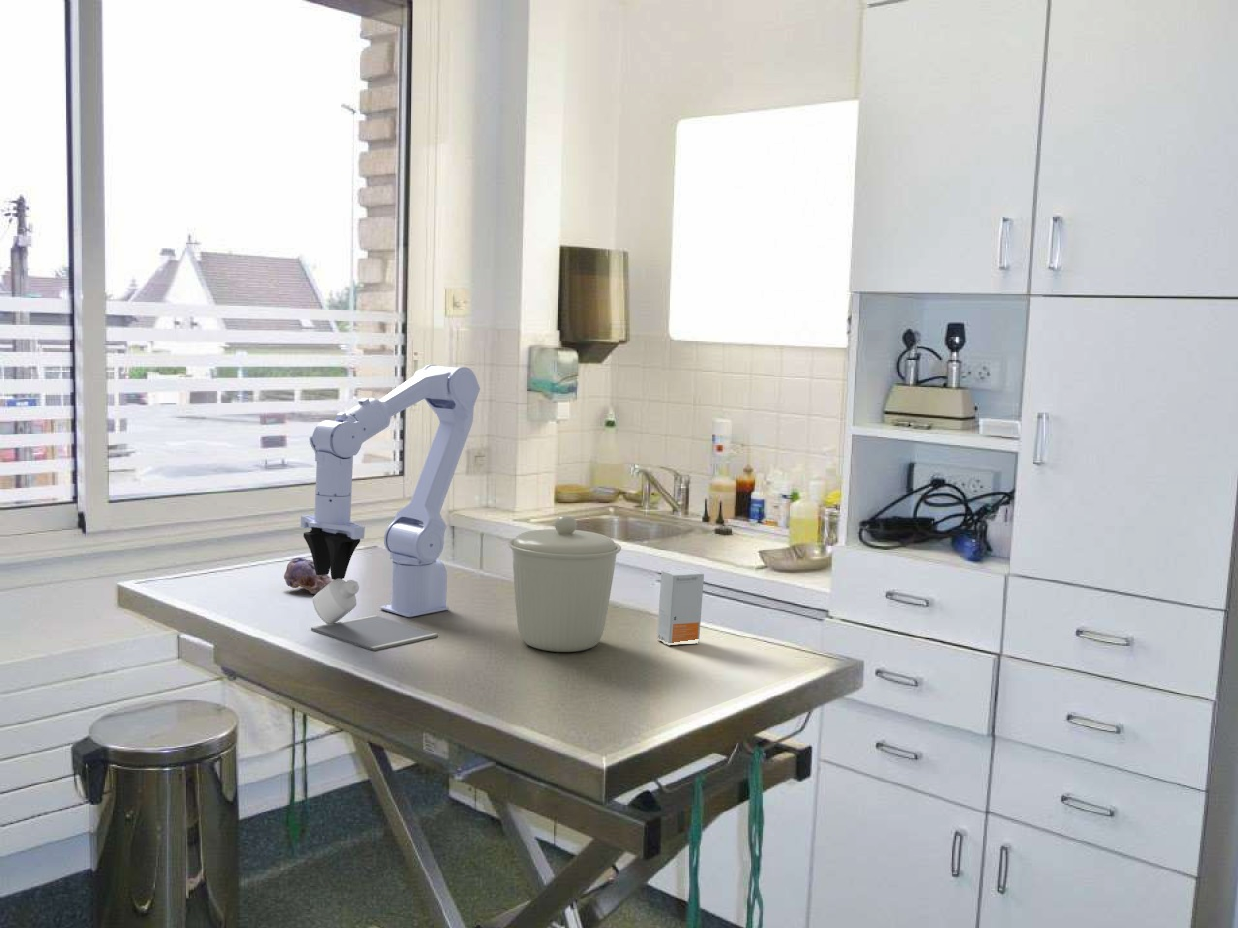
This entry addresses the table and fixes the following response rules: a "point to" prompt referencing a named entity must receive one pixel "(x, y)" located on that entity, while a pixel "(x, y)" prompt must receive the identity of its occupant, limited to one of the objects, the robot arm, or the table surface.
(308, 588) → the skull
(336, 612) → the eye dropper bottle
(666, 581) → the skincare box
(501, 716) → the table surface
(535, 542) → the canister
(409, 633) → the mat
